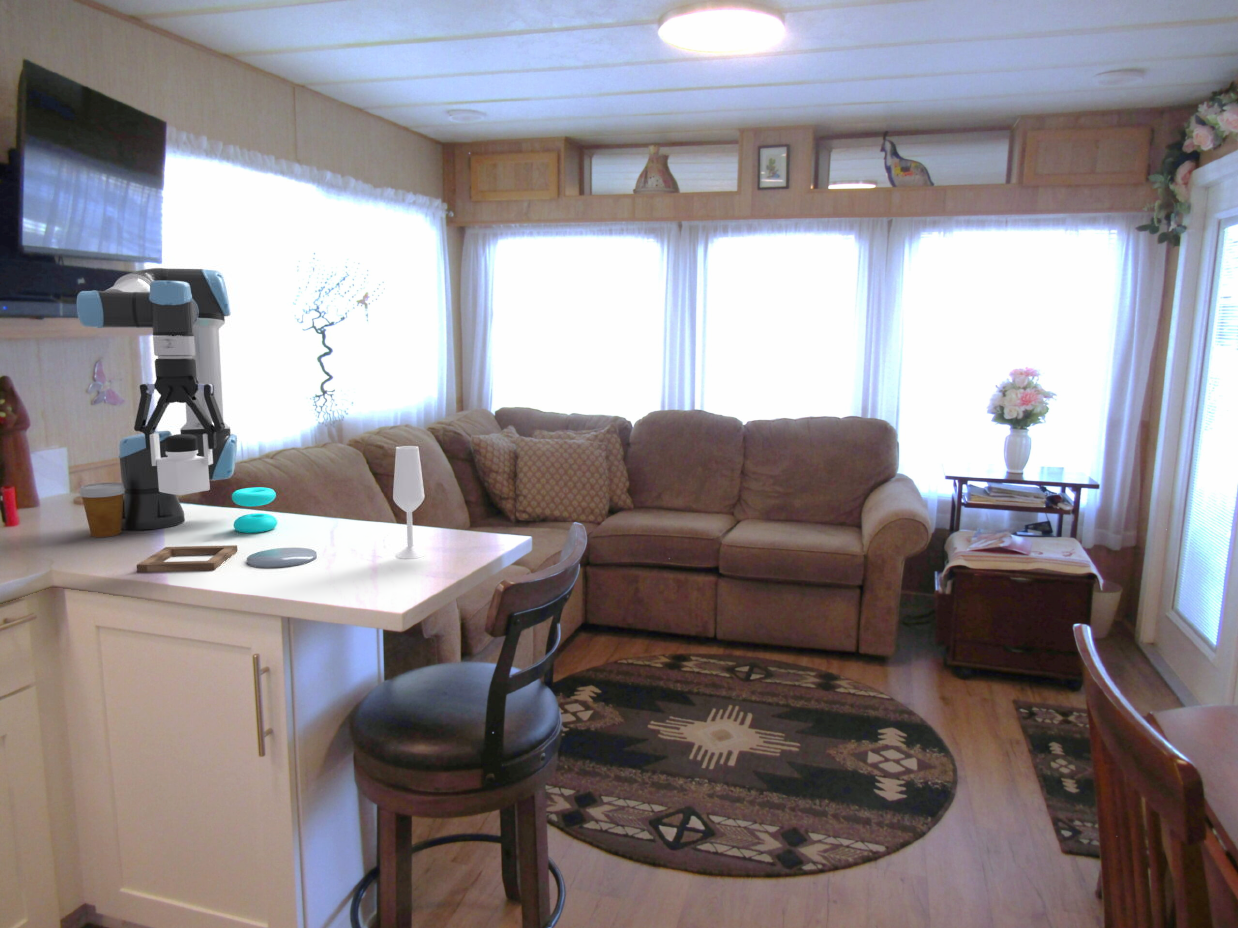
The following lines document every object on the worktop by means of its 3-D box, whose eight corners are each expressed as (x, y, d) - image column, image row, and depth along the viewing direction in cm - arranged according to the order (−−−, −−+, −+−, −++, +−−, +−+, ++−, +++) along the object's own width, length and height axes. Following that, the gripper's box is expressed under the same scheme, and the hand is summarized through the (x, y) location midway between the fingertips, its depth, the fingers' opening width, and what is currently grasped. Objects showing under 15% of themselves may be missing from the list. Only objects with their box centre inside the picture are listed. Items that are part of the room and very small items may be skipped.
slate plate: (258, 551, 188) (257, 548, 188) (322, 550, 190) (322, 546, 190) (238, 568, 174) (237, 565, 174) (308, 566, 176) (308, 563, 176)
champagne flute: (410, 560, 182) (407, 450, 178) (388, 555, 185) (384, 447, 182) (432, 553, 188) (429, 446, 184) (410, 549, 191) (407, 444, 188)
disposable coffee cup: (137, 530, 208) (133, 482, 206) (111, 539, 199) (106, 489, 197) (101, 529, 209) (97, 481, 207) (73, 538, 199) (68, 488, 198)
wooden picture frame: (166, 553, 186) (166, 546, 186) (237, 551, 188) (237, 545, 188) (136, 572, 172) (136, 564, 171) (214, 570, 173) (214, 562, 173)
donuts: (242, 486, 213) (282, 486, 213) (245, 524, 215) (284, 525, 215) (223, 493, 204) (264, 494, 203) (226, 533, 205) (266, 534, 205)
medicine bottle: (210, 490, 179) (206, 434, 177) (178, 495, 173) (174, 437, 171) (190, 487, 183) (186, 432, 181) (158, 492, 176) (153, 435, 175)
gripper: (108, 357, 168) (117, 468, 172) (226, 358, 171) (232, 466, 175) (125, 356, 176) (134, 462, 179) (237, 357, 178) (244, 461, 182)
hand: (182, 464), depth 177 cm, fingers closed on medicine bottle, 10 cm apart
